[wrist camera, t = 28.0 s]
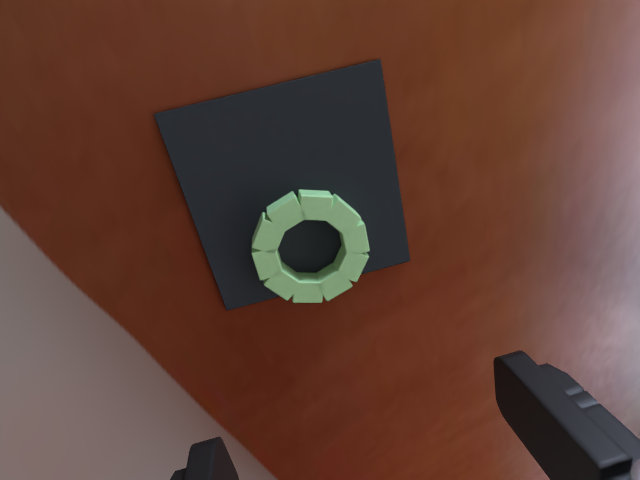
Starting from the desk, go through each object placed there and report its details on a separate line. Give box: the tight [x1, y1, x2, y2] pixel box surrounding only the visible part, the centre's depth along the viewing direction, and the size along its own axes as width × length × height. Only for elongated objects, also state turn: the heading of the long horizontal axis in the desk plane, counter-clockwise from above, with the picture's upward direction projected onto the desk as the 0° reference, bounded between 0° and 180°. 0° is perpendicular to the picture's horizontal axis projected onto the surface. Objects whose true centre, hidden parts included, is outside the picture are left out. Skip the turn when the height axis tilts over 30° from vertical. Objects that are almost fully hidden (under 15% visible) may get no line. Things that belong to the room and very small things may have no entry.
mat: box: [154, 59, 410, 310], centre depth 22 cm, size 12×12×1 cm
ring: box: [252, 189, 370, 303], centre depth 23 cm, size 7×7×1 cm
